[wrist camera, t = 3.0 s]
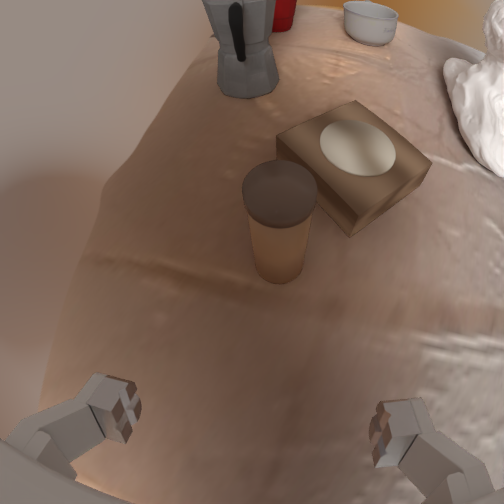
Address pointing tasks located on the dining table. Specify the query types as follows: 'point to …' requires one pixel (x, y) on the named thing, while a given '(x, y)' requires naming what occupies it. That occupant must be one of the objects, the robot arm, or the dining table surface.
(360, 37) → the teacup
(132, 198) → the dining table surface
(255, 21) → the coffeepot
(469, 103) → the bust
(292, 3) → the plastic cup
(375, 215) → the display plinth
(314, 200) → the brown capped cylinder
